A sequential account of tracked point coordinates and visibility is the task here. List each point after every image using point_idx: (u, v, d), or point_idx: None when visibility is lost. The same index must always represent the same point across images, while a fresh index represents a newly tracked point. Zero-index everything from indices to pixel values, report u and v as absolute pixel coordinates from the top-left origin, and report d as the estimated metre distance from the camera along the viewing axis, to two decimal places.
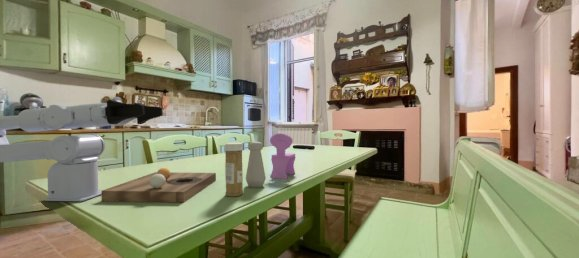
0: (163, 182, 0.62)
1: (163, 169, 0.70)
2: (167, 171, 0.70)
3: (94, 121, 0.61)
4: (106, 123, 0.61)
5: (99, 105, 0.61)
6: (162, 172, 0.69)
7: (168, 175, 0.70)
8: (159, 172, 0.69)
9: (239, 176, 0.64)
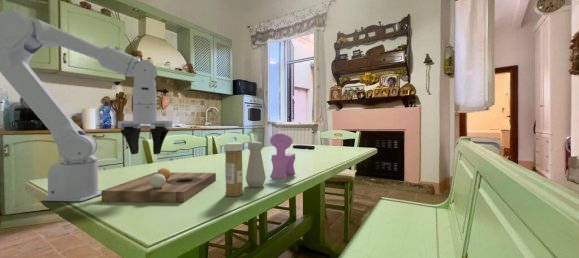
0: (163, 182, 0.62)
1: (163, 169, 0.70)
2: (167, 171, 0.70)
3: (149, 105, 0.69)
4: (145, 114, 0.68)
5: None
6: (162, 172, 0.69)
7: (168, 175, 0.70)
8: (159, 172, 0.69)
9: (239, 176, 0.64)
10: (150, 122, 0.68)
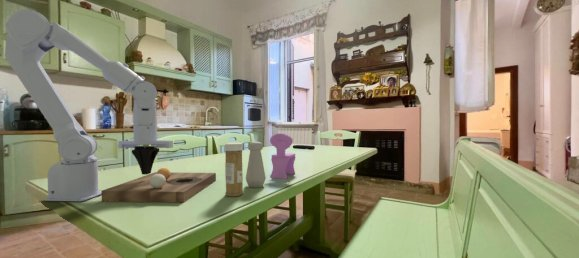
0: (163, 182, 0.62)
1: (163, 169, 0.70)
2: (167, 171, 0.70)
3: (149, 126, 0.69)
4: (145, 135, 0.68)
5: None
6: (162, 172, 0.69)
7: (168, 175, 0.70)
8: (159, 172, 0.69)
9: (239, 176, 0.64)
10: (150, 143, 0.68)
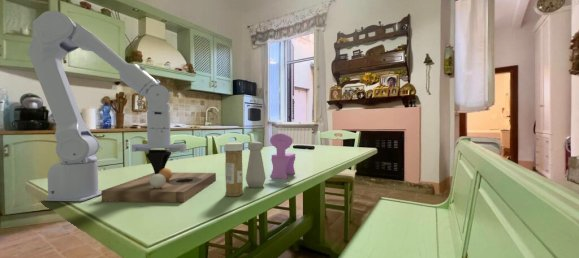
0: (163, 182, 0.62)
1: (166, 170, 0.70)
2: (169, 173, 0.70)
3: (163, 130, 0.69)
4: (159, 139, 0.68)
5: None
6: (164, 173, 0.69)
7: (169, 177, 0.70)
8: (161, 172, 0.69)
9: (239, 176, 0.64)
10: (164, 146, 0.68)
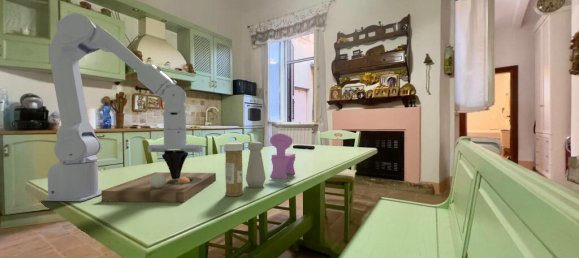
0: (163, 182, 0.62)
1: None
2: (177, 181, 0.69)
3: (180, 130, 0.68)
4: (176, 139, 0.68)
5: None
6: None
7: (181, 179, 0.69)
8: None
9: (239, 176, 0.64)
10: (181, 147, 0.68)
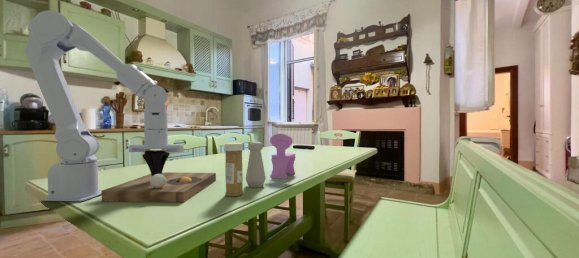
0: (163, 182, 0.62)
1: (179, 182, 0.70)
2: (181, 179, 0.70)
3: (160, 130, 0.69)
4: (156, 139, 0.68)
5: None
6: (180, 182, 0.69)
7: (185, 177, 0.70)
8: None
9: (239, 176, 0.64)
10: (161, 147, 0.68)
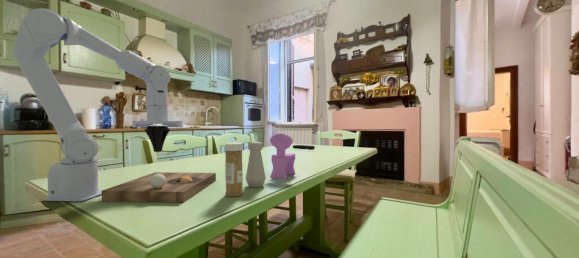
0: (163, 182, 0.62)
1: None
2: (182, 178, 0.70)
3: (161, 107, 0.75)
4: (158, 115, 0.74)
5: None
6: (181, 181, 0.69)
7: (186, 177, 0.71)
8: None
9: (239, 176, 0.64)
10: (162, 122, 0.74)
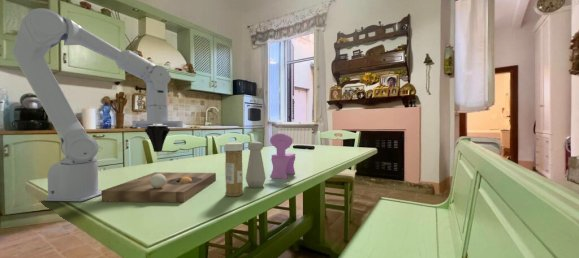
0: (163, 182, 0.62)
1: (179, 182, 0.70)
2: None
3: (161, 107, 0.75)
4: (158, 115, 0.74)
5: None
6: (181, 182, 0.69)
7: (186, 177, 0.71)
8: None
9: (239, 176, 0.64)
10: (162, 122, 0.74)
